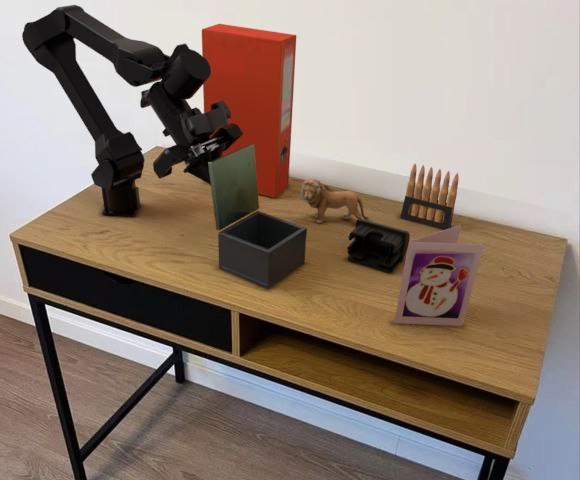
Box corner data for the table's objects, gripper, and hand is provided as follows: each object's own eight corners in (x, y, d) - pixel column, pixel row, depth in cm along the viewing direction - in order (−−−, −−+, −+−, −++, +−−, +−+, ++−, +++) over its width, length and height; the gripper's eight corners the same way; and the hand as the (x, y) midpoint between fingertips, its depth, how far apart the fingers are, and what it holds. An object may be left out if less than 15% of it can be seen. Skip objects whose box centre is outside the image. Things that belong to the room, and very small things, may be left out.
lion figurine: (300, 226, 131) (302, 184, 125) (298, 214, 135) (300, 174, 129) (370, 227, 132) (376, 186, 126) (366, 215, 136) (371, 175, 131)
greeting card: (394, 326, 104) (409, 244, 95) (389, 301, 110) (402, 222, 101) (463, 328, 104) (485, 247, 95) (454, 303, 110) (473, 225, 101)
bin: (304, 263, 119) (307, 228, 114) (268, 289, 111) (269, 252, 106) (257, 245, 123) (257, 210, 119) (218, 268, 116) (218, 232, 111)
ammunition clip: (400, 218, 136) (409, 163, 129) (403, 214, 137) (412, 160, 130) (448, 230, 132) (460, 175, 125) (451, 227, 134) (463, 172, 126)
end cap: (406, 258, 122) (412, 226, 118) (393, 274, 117) (399, 241, 113) (358, 245, 126) (362, 213, 121) (344, 260, 120) (347, 227, 116)
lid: (254, 144, 112) (250, 143, 112) (211, 162, 104) (207, 162, 104) (259, 208, 118) (256, 207, 119) (219, 230, 111) (216, 229, 111)
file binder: (222, 171, 152) (220, 22, 132) (288, 185, 147) (296, 34, 127) (205, 182, 146) (200, 29, 126) (274, 198, 141) (280, 41, 121)
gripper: (159, 99, 99) (216, 185, 101) (234, 76, 112) (283, 153, 114) (129, 138, 107) (182, 216, 109) (202, 112, 120) (248, 183, 122)
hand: (226, 191), depth 113 cm, fingers closed
